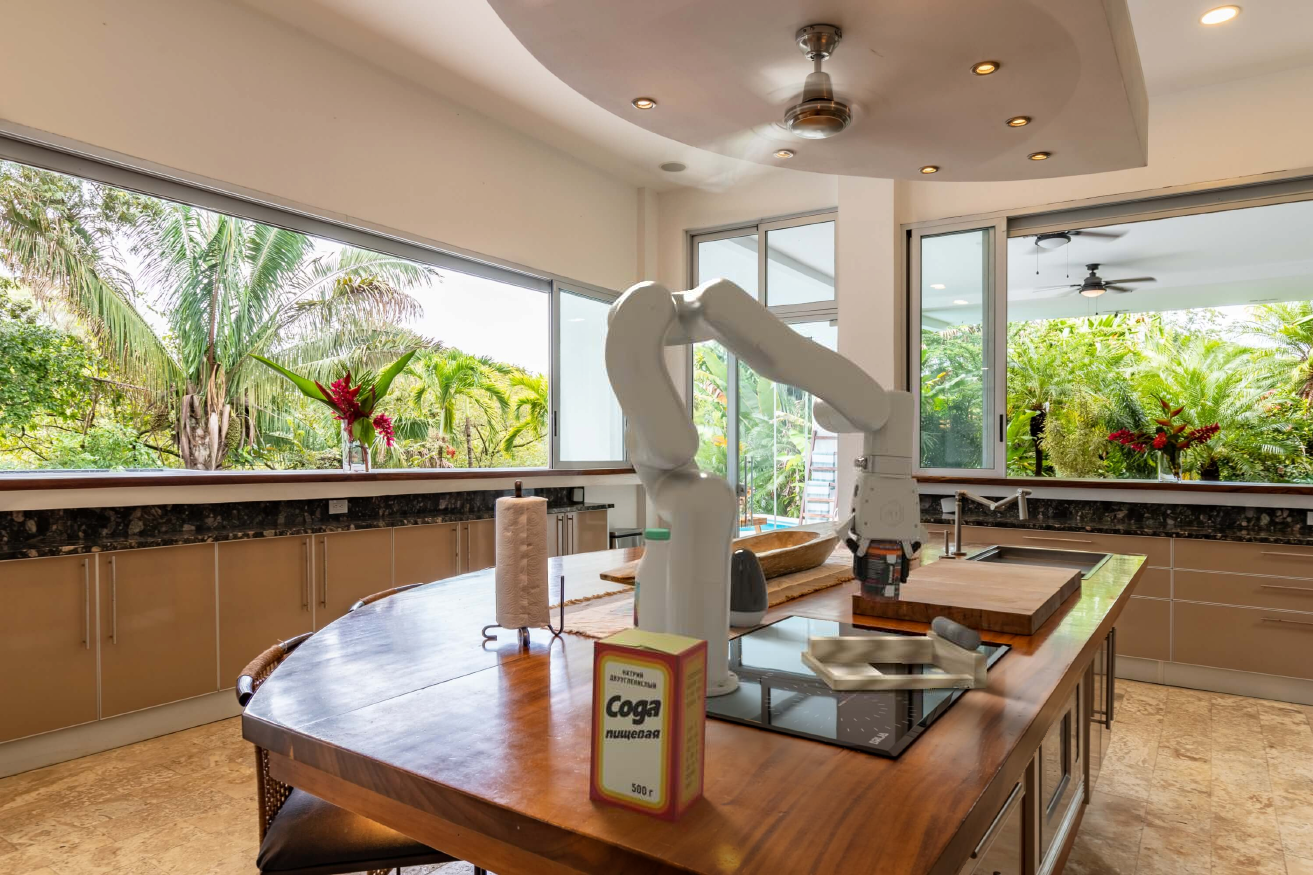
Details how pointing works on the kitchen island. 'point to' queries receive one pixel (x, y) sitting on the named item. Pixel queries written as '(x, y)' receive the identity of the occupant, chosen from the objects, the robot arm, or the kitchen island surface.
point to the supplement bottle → (882, 571)
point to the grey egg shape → (747, 590)
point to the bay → (900, 659)
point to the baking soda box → (648, 722)
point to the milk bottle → (652, 583)
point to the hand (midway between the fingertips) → (880, 580)
